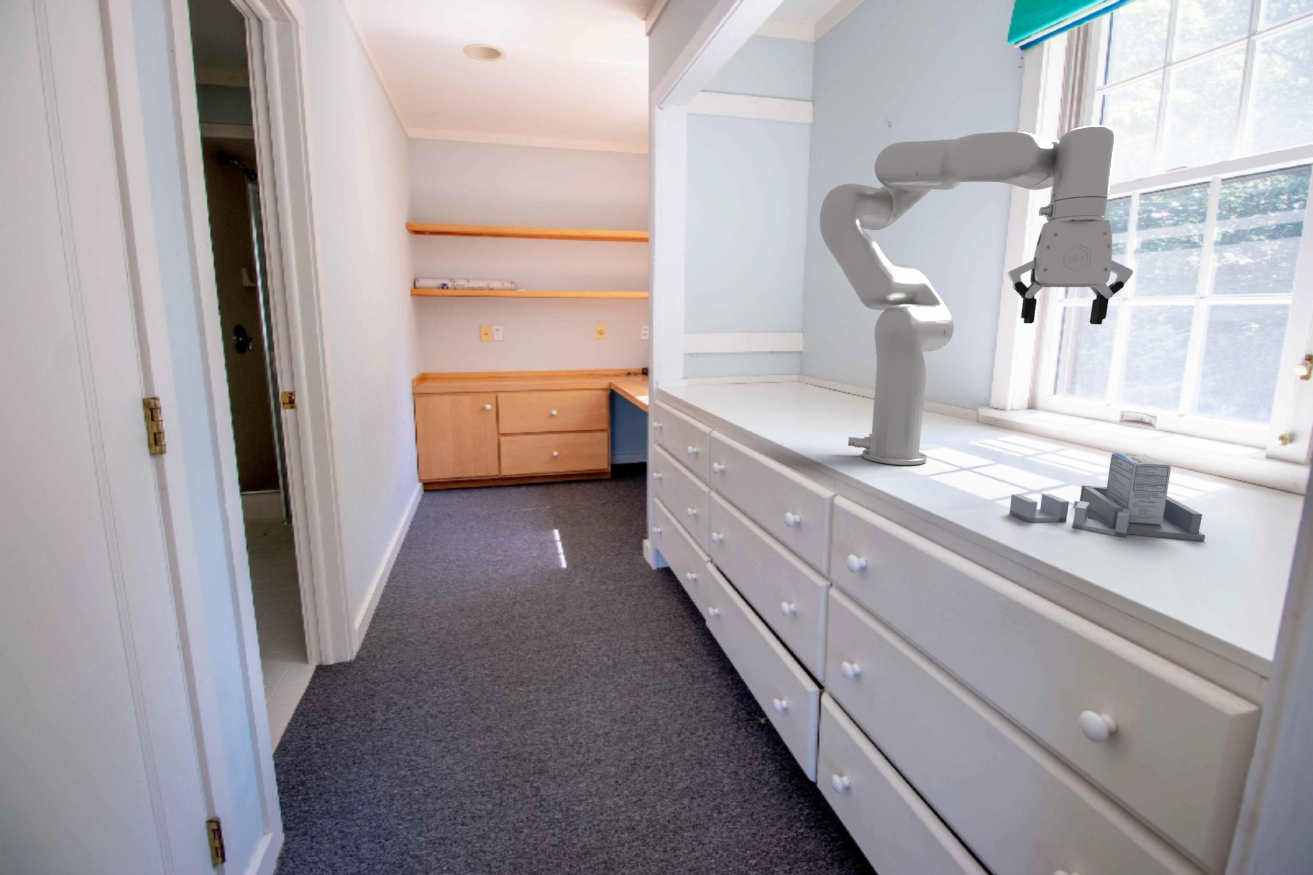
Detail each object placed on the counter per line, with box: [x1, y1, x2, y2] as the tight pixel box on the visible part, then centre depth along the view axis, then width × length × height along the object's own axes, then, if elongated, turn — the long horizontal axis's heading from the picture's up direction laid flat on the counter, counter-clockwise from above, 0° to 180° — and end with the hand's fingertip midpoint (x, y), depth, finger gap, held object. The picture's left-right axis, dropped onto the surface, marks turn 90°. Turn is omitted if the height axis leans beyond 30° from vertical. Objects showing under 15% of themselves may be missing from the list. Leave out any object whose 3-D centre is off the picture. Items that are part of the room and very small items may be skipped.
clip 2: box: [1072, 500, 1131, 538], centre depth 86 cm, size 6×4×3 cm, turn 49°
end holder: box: [1073, 484, 1206, 542], centre depth 89 cm, size 11×13×4 cm
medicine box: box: [1106, 452, 1172, 525], centre depth 89 cm, size 8×4×9 cm, turn 164°
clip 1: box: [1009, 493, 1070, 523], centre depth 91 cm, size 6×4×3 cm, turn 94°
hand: (1061, 323), depth 100 cm, fingers open, 9 cm apart
